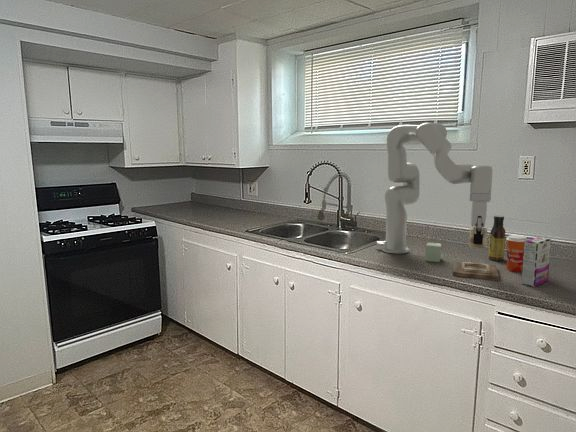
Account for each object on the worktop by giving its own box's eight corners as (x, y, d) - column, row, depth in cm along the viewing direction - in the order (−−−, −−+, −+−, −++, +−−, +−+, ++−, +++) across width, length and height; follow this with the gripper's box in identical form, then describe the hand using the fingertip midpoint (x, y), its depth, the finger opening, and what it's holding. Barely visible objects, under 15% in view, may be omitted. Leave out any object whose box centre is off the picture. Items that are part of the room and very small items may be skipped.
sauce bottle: (490, 256, 191) (493, 214, 188) (505, 259, 187) (508, 215, 184) (486, 259, 186) (489, 216, 183) (501, 262, 182) (505, 217, 179)
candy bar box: (534, 278, 160) (538, 236, 158) (548, 281, 156) (552, 238, 154) (519, 283, 154) (523, 240, 151) (534, 287, 150) (538, 242, 147)
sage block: (425, 260, 186) (426, 245, 185) (426, 257, 191) (427, 242, 190) (439, 262, 183) (440, 246, 182) (440, 258, 189) (441, 243, 188)
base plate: (453, 275, 164) (453, 269, 163) (454, 265, 178) (454, 259, 178) (498, 280, 158) (499, 273, 157) (495, 268, 172) (496, 263, 172)
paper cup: (501, 270, 171) (503, 236, 168) (507, 266, 176) (510, 233, 174) (522, 274, 165) (525, 239, 163) (528, 270, 170) (531, 236, 168)
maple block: (469, 247, 165) (470, 229, 163) (469, 243, 170) (470, 227, 169) (486, 248, 162) (487, 230, 161) (485, 245, 168) (486, 227, 167)
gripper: (469, 194, 172) (467, 237, 175) (470, 199, 157) (467, 246, 159) (489, 195, 170) (487, 238, 172) (492, 200, 154) (489, 247, 157)
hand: (477, 242), depth 166 cm, fingers closed on maple block, 5 cm apart
